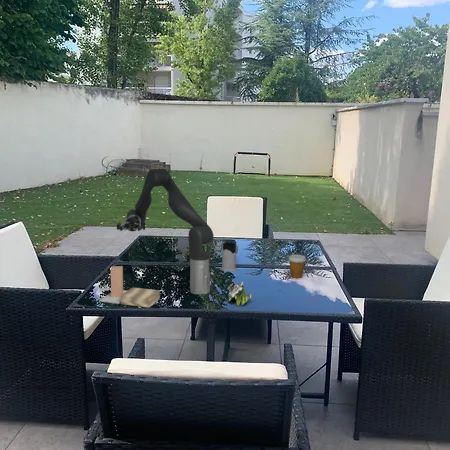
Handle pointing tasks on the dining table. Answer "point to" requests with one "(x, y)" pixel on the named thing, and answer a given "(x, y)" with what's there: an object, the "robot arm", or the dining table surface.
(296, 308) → the dining table surface
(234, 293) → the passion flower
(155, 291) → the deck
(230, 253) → the glass holder
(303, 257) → the disposable coffee cup
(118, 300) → the mat
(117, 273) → the tall tan block
